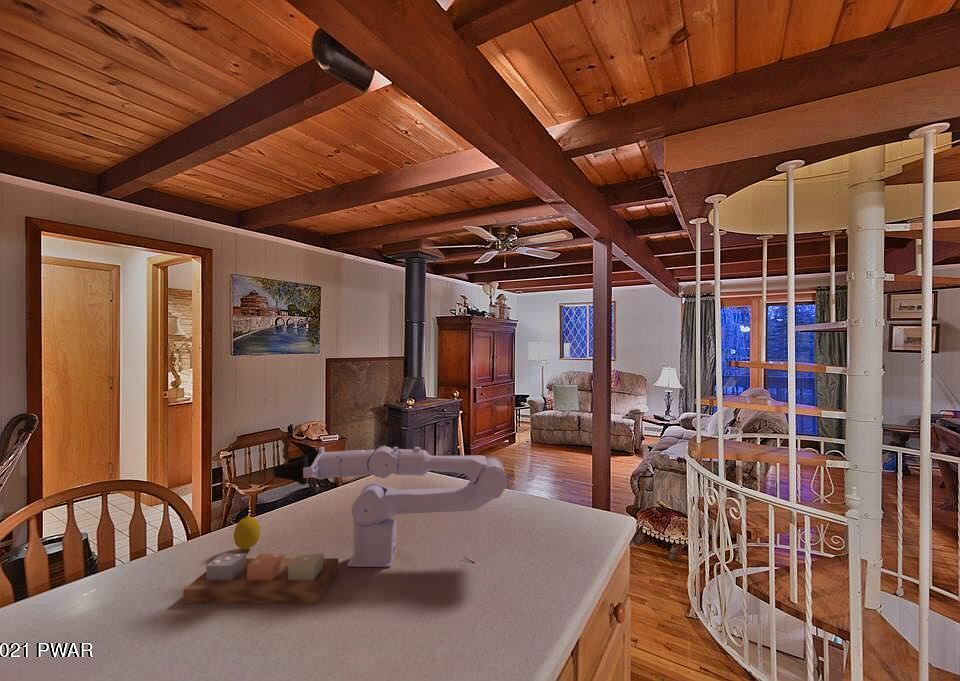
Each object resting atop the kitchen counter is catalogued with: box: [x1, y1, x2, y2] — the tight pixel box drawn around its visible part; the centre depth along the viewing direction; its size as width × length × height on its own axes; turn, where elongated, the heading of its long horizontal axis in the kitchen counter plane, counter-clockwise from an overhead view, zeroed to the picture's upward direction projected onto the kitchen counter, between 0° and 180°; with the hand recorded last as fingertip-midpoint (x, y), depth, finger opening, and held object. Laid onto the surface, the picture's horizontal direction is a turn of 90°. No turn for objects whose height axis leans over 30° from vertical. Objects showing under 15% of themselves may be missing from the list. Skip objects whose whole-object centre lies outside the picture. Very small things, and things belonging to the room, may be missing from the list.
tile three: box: [205, 552, 247, 580], centre depth 86 cm, size 5×5×4 cm
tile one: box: [288, 552, 324, 581], centre depth 86 cm, size 5×5×4 cm
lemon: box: [233, 515, 261, 551], centre depth 100 cm, size 6×6×8 cm
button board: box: [182, 557, 339, 604], centre depth 85 cm, size 25×12×2 cm, turn 90°
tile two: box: [247, 552, 286, 581], centre depth 86 cm, size 5×5×4 cm
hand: (282, 467), depth 96 cm, fingers open, 7 cm apart
